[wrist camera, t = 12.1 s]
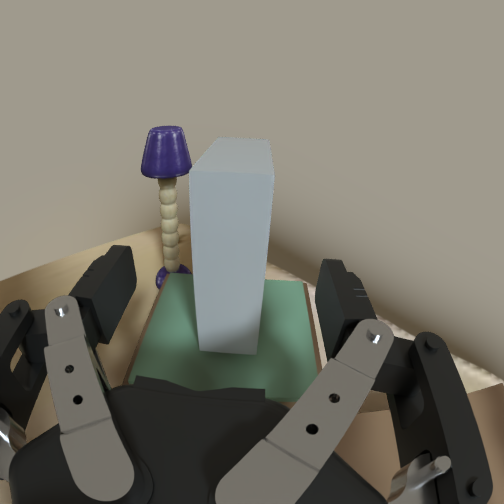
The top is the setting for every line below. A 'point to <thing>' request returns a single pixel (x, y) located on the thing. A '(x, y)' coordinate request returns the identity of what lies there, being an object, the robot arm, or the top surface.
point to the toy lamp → (167, 188)
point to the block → (230, 241)
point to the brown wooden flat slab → (386, 453)
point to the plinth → (228, 364)
